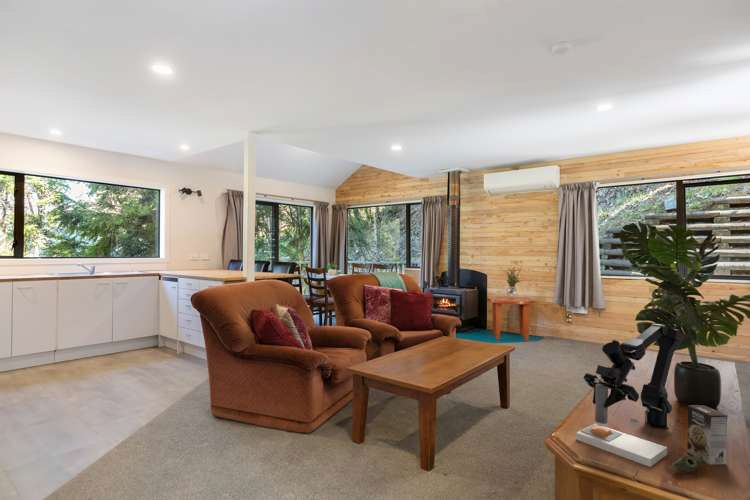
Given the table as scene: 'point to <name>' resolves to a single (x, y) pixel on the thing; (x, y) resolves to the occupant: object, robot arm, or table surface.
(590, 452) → the table surface
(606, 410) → the grey cylinder
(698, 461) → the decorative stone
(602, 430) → the button
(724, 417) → the coffee box
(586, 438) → the panel
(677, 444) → the table surface
